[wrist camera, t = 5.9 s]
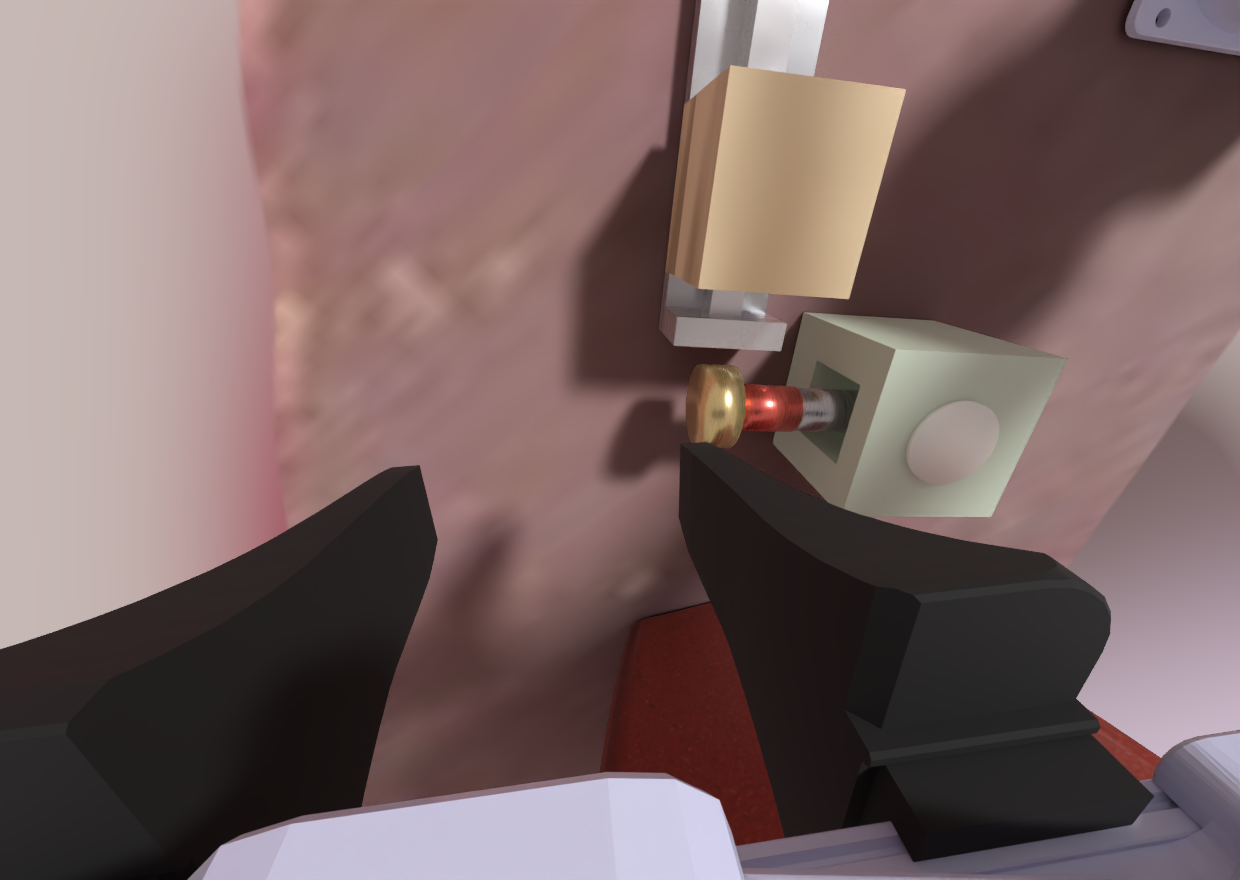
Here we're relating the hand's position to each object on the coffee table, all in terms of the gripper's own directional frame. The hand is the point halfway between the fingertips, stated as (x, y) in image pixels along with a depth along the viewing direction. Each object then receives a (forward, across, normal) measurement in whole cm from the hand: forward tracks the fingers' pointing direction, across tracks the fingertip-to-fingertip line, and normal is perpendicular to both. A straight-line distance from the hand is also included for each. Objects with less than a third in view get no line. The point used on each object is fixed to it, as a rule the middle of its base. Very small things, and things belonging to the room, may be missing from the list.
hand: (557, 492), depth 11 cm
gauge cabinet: (+9, -13, +2) cm, 16 cm away
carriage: (+8, -7, -6) cm, 12 cm away
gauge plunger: (+8, -8, +1) cm, 11 cm away
